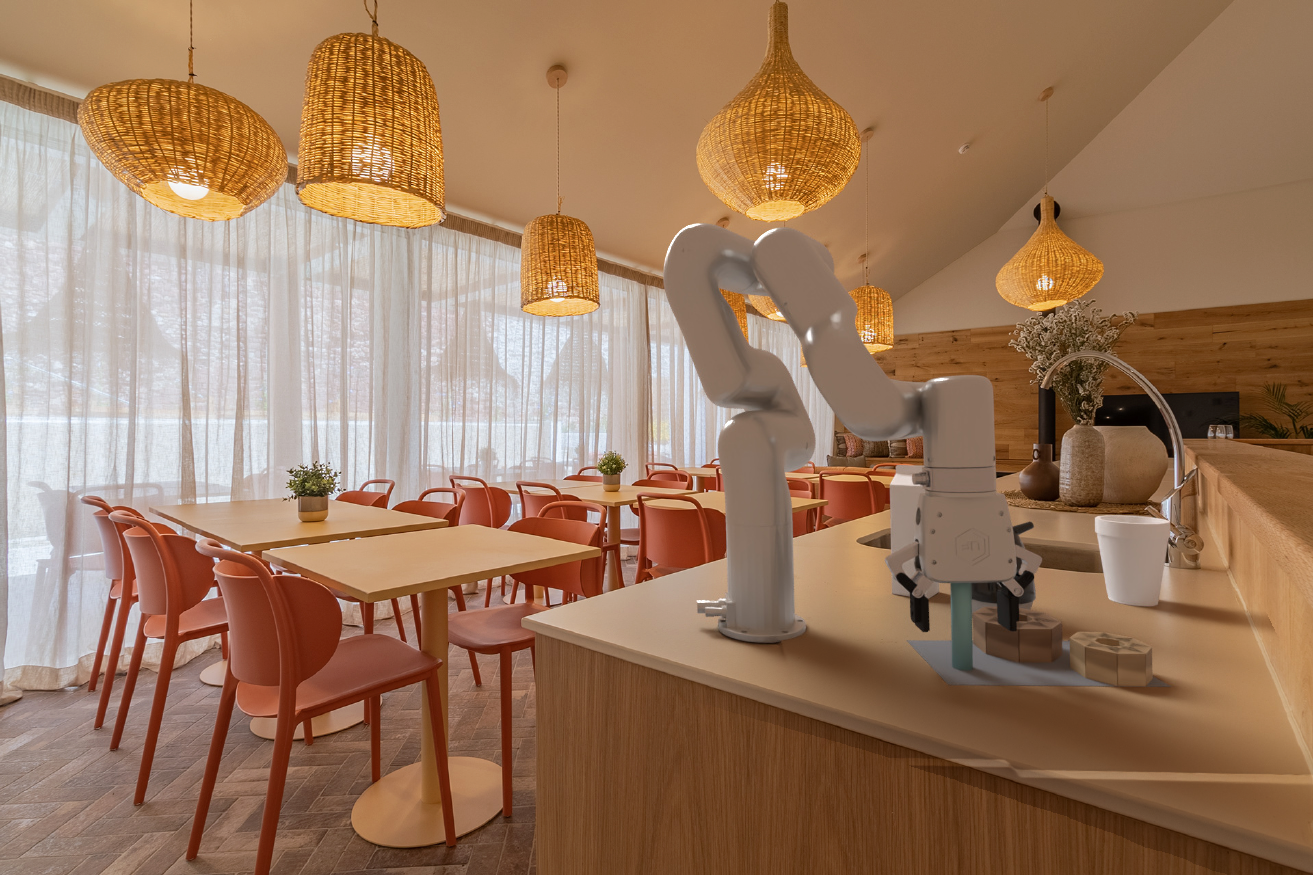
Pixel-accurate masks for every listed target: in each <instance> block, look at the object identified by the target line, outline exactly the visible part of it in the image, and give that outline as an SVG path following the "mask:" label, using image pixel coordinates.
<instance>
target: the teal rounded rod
mask: <svg viewBox="0 0 1313 875" xmlns="http://www.w3.org/2000/svg"><path fill="white" fill-rule="evenodd" d="M949 584H950V625H951V626H950V628H951V630H950V632H951V634H950V635H951V636H950V637H951V639H950V640H952V667H953V668H955V669H958V670H962V671H970V670H972V669H973V644H972V640H973V615H972V591H971V583H949Z"/></svg>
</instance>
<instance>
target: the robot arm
mask: <svg viewBox="0 0 1313 875" xmlns="http://www.w3.org/2000/svg"><path fill="white" fill-rule="evenodd" d="M834 262H835V261H834V258H833V255H832V254H831V252H830V251H829V249H828V248H827V247H826V246H825V245H824V244H823V243H822V242H820V241H818V240H817V239H815V238H812V237H811V236H809V235H807V234H805V233H803V232H802V231H800V230H798V229H795V228H792V227H786V226H785V227H784V226H780V227H774V228H771V229H770V230H768V231H766V232H764V233H763V234H762V235H760V236H759V237H758V239H757V240H753V239H750V238H748V237H745V236H744V235H743V236H742V235H740V234H739V233H736V232H734V231H732V230H730V229H727V228H725V227H722V226H719V225H716V224H714V223H713V224H712V223H705V222H700V223H692V224H690V225H687V226H685V227H683V228H682V229H681V230H679V232H678V233H676V235H675V236H674V238H673V239H672V241H671V243H670V245H669V246H668V249H667V252H666V255H665V258H664V265H663V272H662V273H663V274H662V276H663V279H662V280H663V286H664V287H663V288H664V292H665V296H666V299H667V301H668V305H669V307H670V310H671V311H672V314H673V315H674V317H675V320H676V322H677V324H678V326H679V329H680V331H681V334H682V336H683V338H684V341H685V345H686V347H687V351H688V353H689V355H690V358H691V361H692V363H693V366H694V368H695V371H696V374H697V376H698V378H699V381H700V384H701V386H702V388H703V389H702V390H703V391H704V393H705V395H706V398H708V399H709V401H710V402H711V403H712V404H714V405H715V406H717V407H719V408H723V409H738V410H739V409H740V410H741V409H743V410H744V411H743V412H740V413H738V414H735V415H734V416H731V417H730V419H728V420H727V421H726V423H725V424H723V426H722V428H721V430H720V432H719V434H718V440H717V454H718V462H719V466H720V471H721V477H722V483H723V489H724V490H723V491H724V504H725V506H724V507H725V509H724V510H725V531H726V572H727V573H726V577H727V578H726V579H727V583H726V584H727V592H725V593H724V596H725V597H719V598H718V600H709V599H697V600H696V602H697V604H696V606H697V607H696V608H697V610H696V611H697V612H696V613H697V614H705V615H704V616H705V618H713V617H719V618H718V619H717V628H718V630H719V632H720V633H721V634H723V635H724V636H727V637H729V638H732V639H734V640H737V641H741V642H743V641H744V642H749V643H761V644H763V643H764V644H767V643H768V644H769V643H770V644H772V643H781V642H782V641H784V640H785V641H786V640H790V639H794V638H797V637H799V636H802V635H803V634H804V633H805V632H806V631H807V622H806V620H805V619H804V618H803V617H802V616H801V615H798V614H796V613H795V612H796V611H795V610H796V609H795V608H796V607H795V606H796V605H795V576H794V575H795V574H794V571H795V569H794V568H795V567H794V566H795V564H794V530H793V528H794V525H793V524H794V522H793V505H792V504H793V503H792V497H791V492H790V488H789V487H790V486H789V484H788V480H787V477H786V473H789V472H790V473H791V472H795V471H797V470H800V469H802V468H803V467H805V466H806V465H807V464H808V463H809V462H810V461H811V459H812V458H813V456H814V453H815V450H816V442H817V441H816V432H815V430H814V427H813V424H812V421H811V418H810V417H809V413H808V412H807V409H806V407H805V405H804V402H803V400H802V397H801V396H800V394H799V391H798V389H797V386H796V384H795V382H794V380H793V377H792V375H791V373H790V371H789V369H788V367H787V366H786V365H785V363H784V362H783V361H782V360H781V359H780V358H779V357H778V356H777V355H775V354H774V353H773V352H771V351H768V350H764V349H761V348H755V347H753V346H752V345H750V343H749V341H748V340H747V339H746V336H745V335H744V332H743V330H742V329H741V326H740V323H739V320H738V318H737V316H736V314H735V312H734V309H733V308H732V307H731V305H730V304H729V303H728V301H727V299H726V298H725V297H724V296H723V294H722V292H721V290H725V291H727V292H731V293H734V294H738V295H739V294H741V295H749V296H757V297H759V296H762V297H769V299H770V300H771V301H772V303H774V306H776V308H777V310H778V312H780V313H781V315H782V317H783V318H784V320H785V321H786V323H787V324H788V326H789V327H790V329H791V330H792V331H793V332H794V334H795V335H796V337H797V338H798V341H799V342H800V344H801V351H802V354H803V357H804V360H805V364H806V366H807V370H808V372H809V375H810V377H811V380H812V382H813V383H814V385H815V386H816V388H817V391H819V393H820V394H821V396H822V397H823V399H824V400H825V401H826V403H827V404H828V406H829V407H830V410H832V412H833V413H834V415H835V416H836V418H837V419H838V421H839V422H841V424H842V425H843V427H844V428H846V429H847V430H848V431H849V432H850V433H851V434H853V436H856V437H857V438H860V439H862V440H865V441H868V442H869V441H870V442H882V441H883V442H884V441H885V442H886V441H898V440H905V439H912V438H919V437H922V445H923V446H922V447H923V448H922V449H923V466H925V467H922V472H919V473H914V474H913V475H912V482H913V484H914V485H920V486H923V489H925V493H920V495H919V499H918V504H917V510H916V517H915V527H914V542H913V543H911V544H909V545H908V546H906V547H904V548H902V549H900V550H898V551H896V552H894V553H893V554H888V555H887V556H885V558H884V563H885V565H886V566H887V567H888V569H889V572H890V573H891V575H892V574H893V576H894V578H895V580H896V581H898V582H899V583H900V584H901V585H902V586H903V587H904V588H905V589H906V590H907V591H908V592H909V593H910V597H909V609H910V610H909V611H910V614H909V615H910V617H909V618H910V620H911V622H912V623H914V625H915V627H916V628H918V629H919V630H920V631H921V632H922V633H928V632H930V630H931V629H930V626H931V625H930V602H929V599H928V598H926V597H925V592H926V591H927V590H928V589H929V587H930V586H931V585H932V584H933V583H934V582H937V583H939V584H950V583H993V582H997V583H998V584H999V585H1000V586H1001V590H998V592H997V620H998V623H999V624H1000V625H1002V626H1003V627H1005V628H1006V629H1008V630H1010V631H1017V622H1018V621H1019V596H1022V595H1023V593H1024V589H1025V588H1026V587H1027V586H1028V585H1029V584H1030V583H1031V582H1032V581H1033V580H1034V581H1035V575H1036V573H1037V571H1038V570H1039V568H1040V566H1041V564H1042V562H1043V558H1042V556H1040V555H1039V554H1037V553H1035V552H1032V551H1030V550H1029V549H1026V548H1025V549H1024V548H1022V547H1020V546H1018V545H1016V544H1015V542H1014V535H1013V528H1012V526H1013V524H1012V523H1013V522H1012V518H1011V517H1012V516H1011V512H1010V510H1009V506H1008V502H1007V498H1006V496H1005V494H1004V493H1001V492H997V491H998V490H997V469H996V468H997V467H996V438H995V436H996V435H995V404H994V402H995V401H994V387H993V384H992V382H991V380H990V379H989V378H988V377H986V376H983V375H977V374H961V375H959V374H958V375H949V376H939V377H934V378H931V379H929V380H927V381H926V382H924V381H923V382H922V381H921V382H920V381H919V382H918V381H904V380H898V379H894V378H893V379H892V378H889V377H888V375H887V374H886V372H884V370H883V368H882V367H881V366H880V365H879V364H878V363H877V361H876V359H875V358H874V357H873V355H872V354H871V352H870V351H869V349H868V348H867V347H866V345H865V343H864V342H863V340H862V338H861V336H860V334H859V332H858V330H857V326H856V318H857V315H858V305H857V303H856V301H855V300H854V298H853V297H852V296H851V295H850V294H849V291H847V289H846V288H845V287H844V285H843V284H842V282H840V280H839V279H838V277H837V276H836V275H835V263H834ZM720 289H721V290H720ZM1016 557H1018V558H1020V559H1021V560H1022V565H1021V568H1020V569H1019V570H1018V571H1017V572H1016V570H1017V564H1016ZM912 558H914V566H915V569H916V573H915V574H914V575H913V576H912V577H911V579H910V578H909V577H908V576H907V575H906V574H905V572H904V570H903V568H902V565H903V563H905V562H906V561H908V560H910V559H912Z"/></svg>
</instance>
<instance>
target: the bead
mask: <svg viewBox="0 0 1313 875" xmlns="http://www.w3.org/2000/svg"><path fill="white" fill-rule="evenodd" d="M972 640H973V644H974V645H975V646H977V647H978V648H979V649H980V650H982V651H983V652H984V653H985V654H987V655H991V656H995V657H999V658H1003V659H1007V660H1011V661H1015V662H1027V663H1052V662H1054V661H1055V660H1056V659H1057V658H1059V657H1060V656H1061V655H1062V641H1063V622H1062V621H1061V620H1059V619H1057V618H1056V617H1054V616H1052V615H1050V614H1048V613H1047V612H1044V611H1043V612H1042V611H1039V610H1033V609H1031V610H1028V609H1023V608H1019V621H1018V622H1017V631H1010V630H1008V629H1006V628H1005V627H1003V626H1002V625H1000V624H999V623H998V620H997V607H983V608H981V609H979V610H977V611H975V612H973V615H972Z"/></svg>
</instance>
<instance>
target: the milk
mask: <svg viewBox="0 0 1313 875" xmlns="http://www.w3.org/2000/svg"><path fill="white" fill-rule="evenodd" d="M922 467H925V466H924V465H914V464H913V465H912V464H911V465H910V464H909V465H908V464H907V465H906V464H904V465H903V464H897V465H896V466H895V474H894V476H893V478H892V480H891V482H890V483H889V501H890V502H889V504H890V505H889V506H890V509H889V510H890V511H889V512H890V513H889V514H890V553H891V554H893V553H894V552H896V551H898V550H900V549H902V548H904V547H906V546H908V545H909V544H911V543H913V542H914V527H915V517H916V510H917V504H918V499H919V495H920V493H925V489H923V486H920V485H914V484H913V482H912V475H913V474H914V473H919V472H922ZM891 554H890V555H891ZM902 568H903V570H904V572H905V574H906V575H907V576H908V577H909V578H910V579H911V577H912V576H913V575H914V574H915V573H916V569H915V566H914V558H912V559H910V560H908V561H906V562H905V563H903V565H902ZM938 593H940V583H937V582H934V583H933V584H932V585H931V586H930V587H929V589H928V590H927V591H926V592H925V597H926V598H928V600H929V599H930V598H933V597H934V596H935V595H936V594H938ZM891 594H892V595H897V596H904V597H909V598H910V593H909V592H908V591H907V590H906V589H905V588H904V587H903V586H902V585H901V584H900V583H899V582H898V581H896V580H895V578H894V576H893V574H892V573H891Z"/></svg>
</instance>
